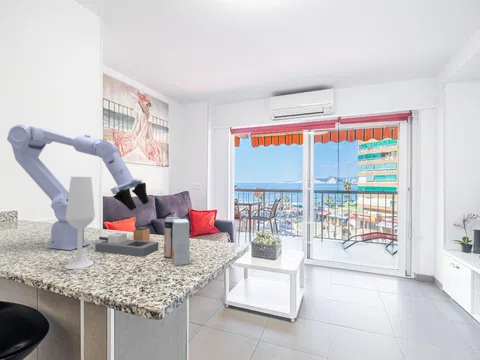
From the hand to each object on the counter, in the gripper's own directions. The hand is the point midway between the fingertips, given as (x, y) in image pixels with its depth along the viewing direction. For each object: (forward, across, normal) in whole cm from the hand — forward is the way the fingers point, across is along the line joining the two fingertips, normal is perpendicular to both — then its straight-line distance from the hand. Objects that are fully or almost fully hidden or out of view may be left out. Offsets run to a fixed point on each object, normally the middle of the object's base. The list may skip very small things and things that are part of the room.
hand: (140, 206), depth 87 cm
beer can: (+19, -11, -9) cm, 24 cm away
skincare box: (+21, -15, -13) cm, 29 cm away
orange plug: (+12, +1, +8) cm, 15 cm away
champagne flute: (+7, -24, +8) cm, 26 cm away
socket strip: (+11, -9, +6) cm, 15 cm away
